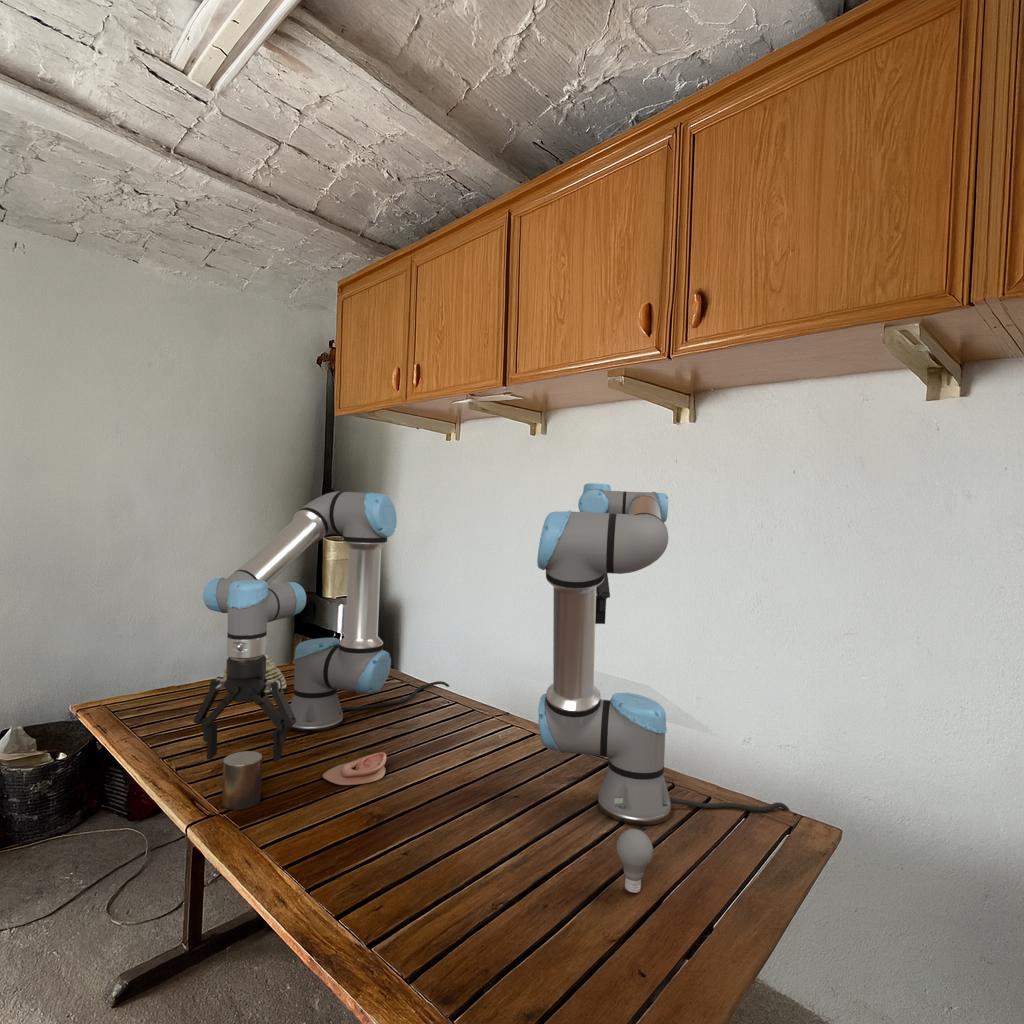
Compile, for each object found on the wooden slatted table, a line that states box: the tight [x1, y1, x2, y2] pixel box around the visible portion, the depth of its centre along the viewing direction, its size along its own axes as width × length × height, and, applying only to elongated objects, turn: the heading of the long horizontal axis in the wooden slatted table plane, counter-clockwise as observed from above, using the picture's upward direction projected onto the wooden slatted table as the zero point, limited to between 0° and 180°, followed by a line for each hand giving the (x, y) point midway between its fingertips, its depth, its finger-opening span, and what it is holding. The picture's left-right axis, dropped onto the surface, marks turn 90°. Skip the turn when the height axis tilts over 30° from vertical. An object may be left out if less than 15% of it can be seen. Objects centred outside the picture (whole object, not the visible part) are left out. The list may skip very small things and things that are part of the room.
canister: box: [221, 750, 263, 811], centre depth 130 cm, size 7×7×9 cm
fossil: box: [222, 653, 288, 698], centre depth 198 cm, size 9×18×15 cm, turn 132°
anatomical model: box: [321, 751, 387, 786], centre depth 144 cm, size 13×4×12 cm
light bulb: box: [615, 828, 654, 894], centre depth 106 cm, size 6×6×10 cm
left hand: (244, 758), depth 131 cm, fingers open, 13 cm apart
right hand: (591, 618), depth 172 cm, fingers open, 13 cm apart
